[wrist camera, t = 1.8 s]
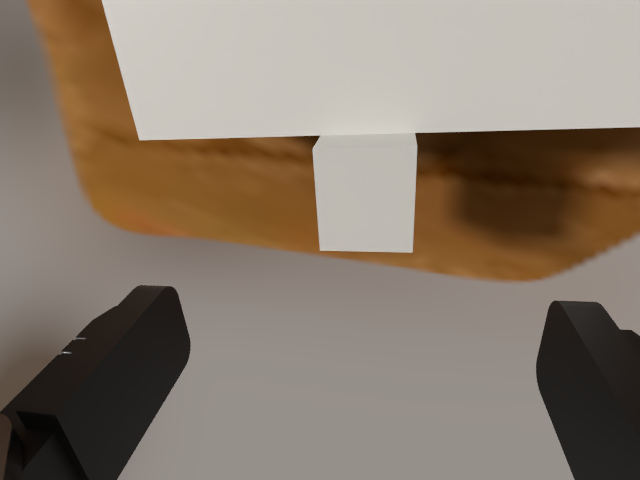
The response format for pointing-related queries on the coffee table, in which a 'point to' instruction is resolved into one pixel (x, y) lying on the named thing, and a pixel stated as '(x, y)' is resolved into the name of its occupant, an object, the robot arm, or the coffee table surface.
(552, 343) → the robot arm
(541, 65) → the lid
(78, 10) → the coffee table surface
